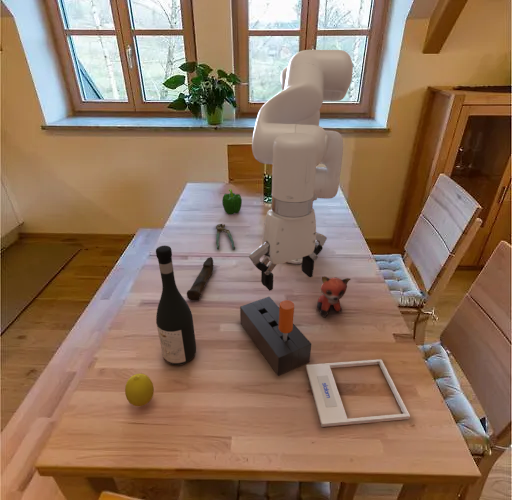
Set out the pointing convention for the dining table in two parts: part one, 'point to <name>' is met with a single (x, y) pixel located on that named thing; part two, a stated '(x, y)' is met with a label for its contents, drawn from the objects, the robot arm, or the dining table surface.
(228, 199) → the bell pepper
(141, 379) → the lemon
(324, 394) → the photo frame
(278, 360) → the rack
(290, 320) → the orange tool handle
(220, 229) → the pliers
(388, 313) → the dining table surface
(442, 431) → the dining table surface
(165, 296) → the wine bottle
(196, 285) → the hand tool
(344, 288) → the stuffed fox
